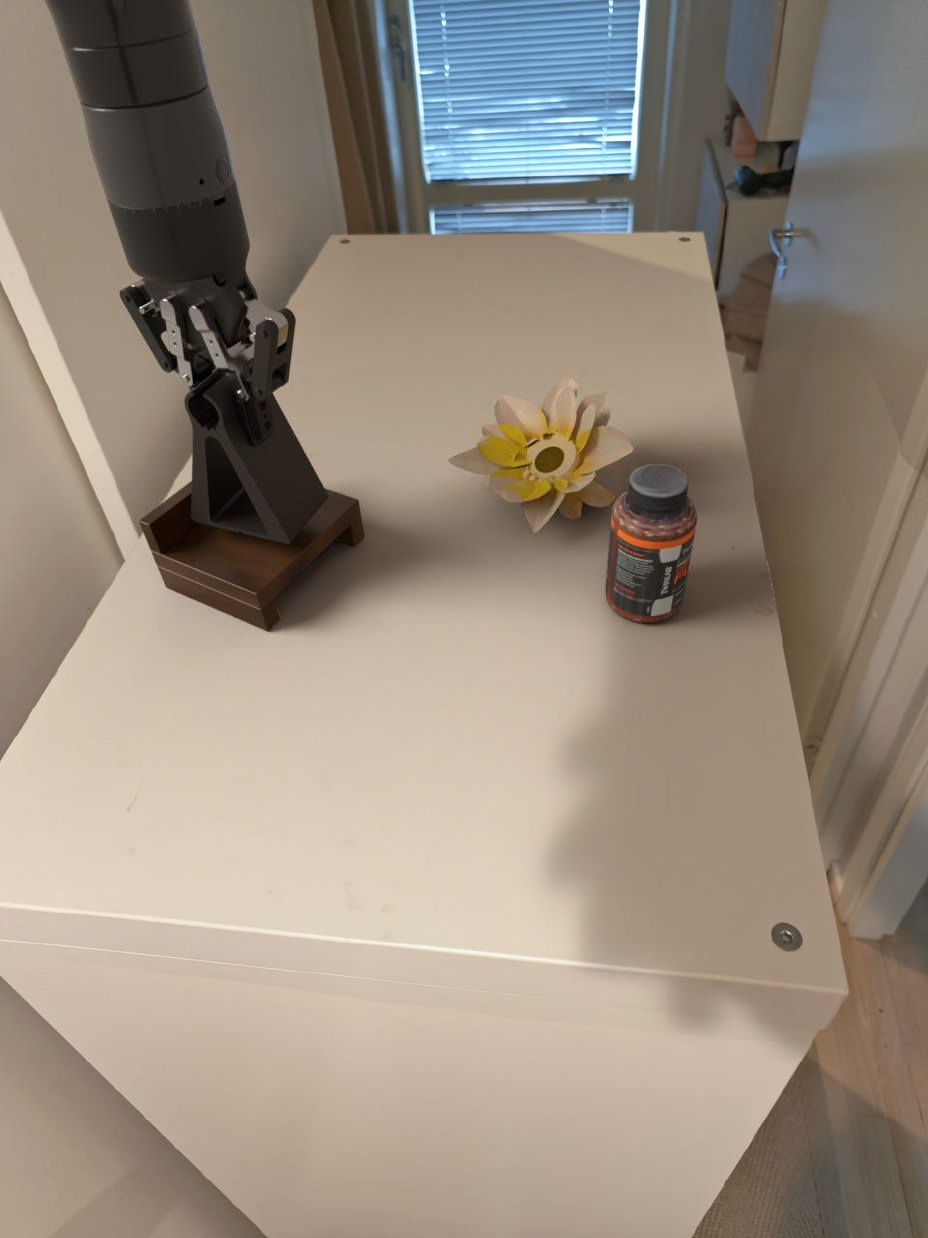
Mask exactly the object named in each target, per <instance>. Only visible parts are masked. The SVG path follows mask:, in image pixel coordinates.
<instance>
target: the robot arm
mask: <svg viewBox="0 0 928 1238" xmlns="http://www.w3.org/2000/svg"><path fill="white" fill-rule="evenodd" d="M43 2H44V4H45V5H46V8H47V10H48V12H49V14H50V17H51V19H52V22H53V25H54V29H55V31H56V34H57V37H58V39H59V43H60V46H61V49H62V52H63V55H64V58H65V61H66V64H67V67H68V70H69V73H70V76H71V79H72V82H73V86H74V89H75V92H76V95H77V98H78V100H79V104H80V105H79V106H80V108H81V112H82V115H83V120H84V125H85V130H86V136H87V141H88V144H89V148H90V153H91V156H92V159H93V162H94V166H95V168H96V171H97V175H98V177H99V180H100V183H101V186H102V189H103V192H104V195H105V198H106V201H107V204H108V205H107V206H108V207H109V210H110V214H111V216H112V220H113V222H114V225H115V229H116V231H117V235H118V237H119V240H120V244H121V247H122V250H123V253H124V256H125V259H126V263H127V265H128V267H129V268H130V270H131V271H132V272H133V273H134V274H135V275H136V276H138V277H140V278H141V279H140V280H137V281H136V282H134V283H132V284H129V285H127V286H126V287H124V288H122V289H120V290H119V298H120V300H121V302H122V304H123V305H124V308H126V310H127V312H128V314H129V316H130V317H131V319H132V320H133V322H134V324H135V325H136V327H137V329H138V331H139V333H140V334H141V336H142V338H143V340H144V341H145V343H146V344H147V346H148V348H149V349H150V351H151V353H152V355H153V357H154V359H155V360H156V362H157V363H158V366H159V367H160V368H161V369H162V371H163V372H166V373H168V374H170V373H172V372H175V373H176V374H178V375H179V376H178V377H179V379H180V381H181V382H182V383H183V384H184V386H186V387H188V388H189V392H190V391H191V390H193V389H194V388H195V387H196V386H197V385H199V384H200V383H201V382H202V381H203V380H205V379H206V378H207V377H208V376H209V375H211V374H212V373H213V372H214V371H215V370H217V369H218V370H219V371H224V372H225V374H226V376H227V379H228V381H229V383H230V385H231V388H232V390H233V392H234V395H235V396H236V398H237V399H236V400H235V404H236V407H237V411H238V414H239V418H240V422H241V425H242V428H243V430H244V432H245V434H246V436H247V438H248V440H249V441H250V443H251V444H252V445H253V446H259V445H260V444H262V443H263V442H264V441H266V440H267V439H268V438H269V437H271V435H272V434H273V432H274V430H275V423H274V419H273V415H272V411H271V406H270V402H269V398H268V396H269V395H270V394H271V393H273V394H274V392H276V391H277V390H278V389H280V388H281V387H284V386H286V384H288V383H289V380H290V374H291V373H290V372H291V363H292V356H293V350H294V349H293V348H294V340H295V331H296V323H297V319H296V316H295V313H294V312H293V311H292V310H291V309H290V308H287V307H283V308H281V309H280V310H278V311H275V310H273V309H272V308H271V307H269V306H267V305H265V304H264V303H263V302H261V301H260V300H259V296H258V291H257V290H256V288H255V286H254V285H253V283H252V281H251V279H250V278H249V275H248V273H247V260H248V256H249V253H250V250H251V249H250V248H251V243H250V237H249V233H248V228H247V223H246V220H245V216H244V215H245V214H244V211H243V207H242V202H241V198H240V193H239V189H238V185H237V181H236V175H235V171H234V167H233V162H232V158H231V154H230V149H229V145H228V141H227V136H226V131H225V128H224V125H223V122H222V119H221V116H220V113H219V110H218V108H217V105H216V103H215V98H214V97H213V93H212V90H211V85H210V83H209V77H208V73H207V69H206V64H205V59H204V55H203V51H202V46H201V42H200V38H199V33H198V30H197V29H198V28H197V26H196V21H195V17H194V12H193V7H192V3H191V0H43ZM165 332H166V334H167V341H168V347H169V348H168V347H167V346H166V343H165V342H164V340H163V338H162V335H163V333H165ZM238 344H239V345H238ZM236 345H238V346H237V347H235V346H236ZM233 347H235V348H233ZM231 348H233V349H232V350H231V351H229V349H231ZM244 363H246V365H247V367H248V370H249V372H250V374H251V376H249V377H248V378H246V379H245V376H244V374H243V371H242V365H243V364H244Z"/></svg>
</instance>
